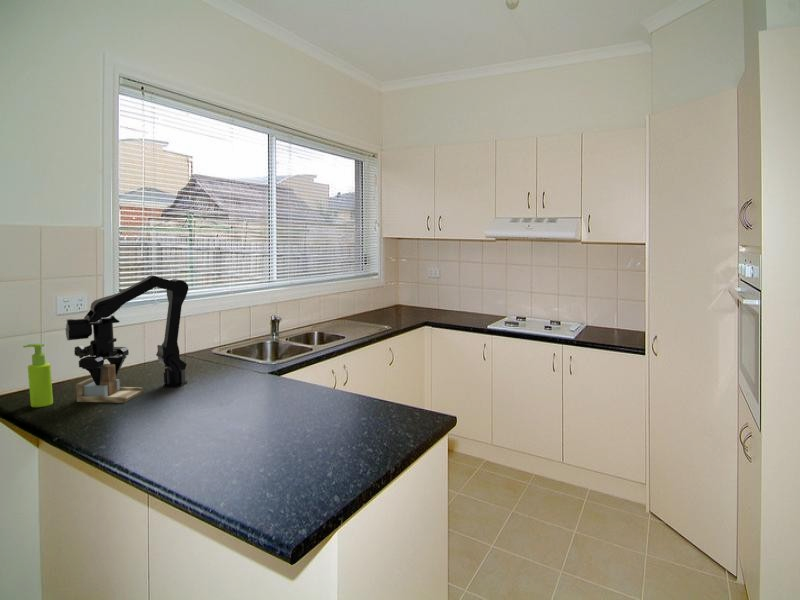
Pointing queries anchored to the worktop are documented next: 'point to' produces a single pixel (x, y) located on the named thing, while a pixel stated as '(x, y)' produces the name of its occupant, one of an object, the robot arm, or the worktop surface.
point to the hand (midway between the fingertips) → (106, 381)
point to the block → (98, 389)
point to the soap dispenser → (39, 379)
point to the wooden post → (109, 378)
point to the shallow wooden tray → (119, 396)
